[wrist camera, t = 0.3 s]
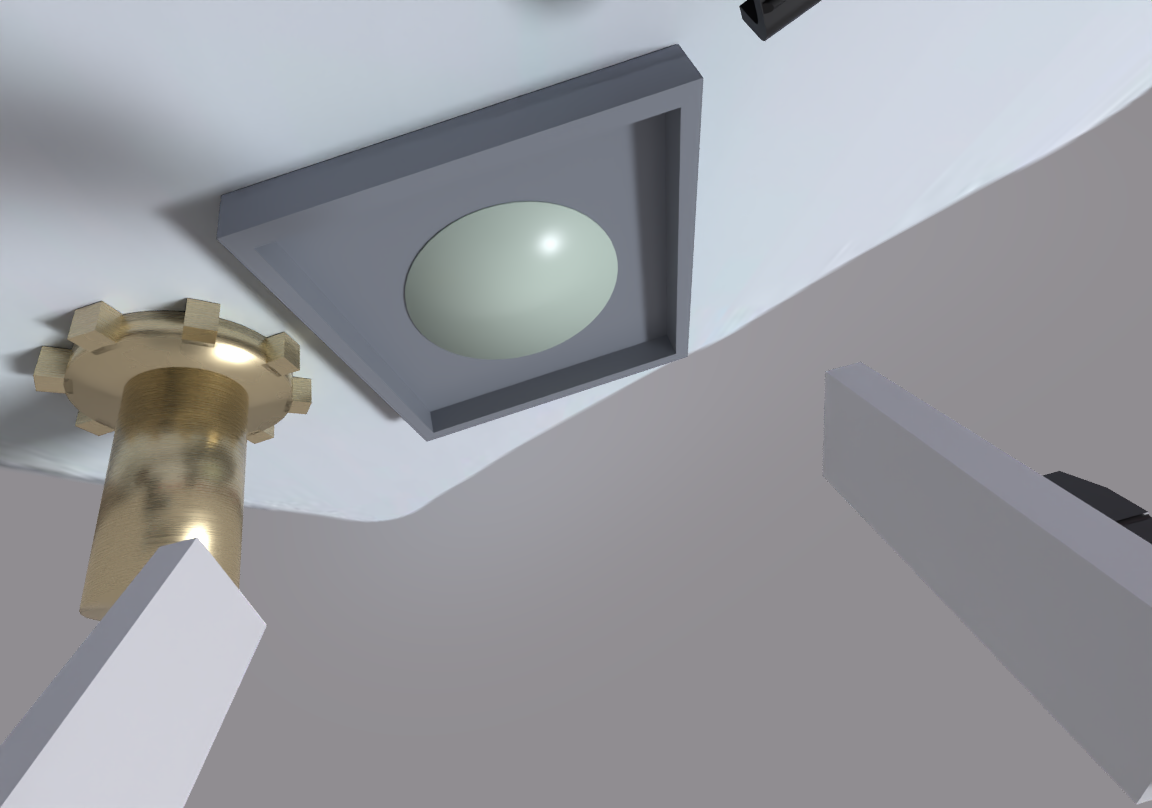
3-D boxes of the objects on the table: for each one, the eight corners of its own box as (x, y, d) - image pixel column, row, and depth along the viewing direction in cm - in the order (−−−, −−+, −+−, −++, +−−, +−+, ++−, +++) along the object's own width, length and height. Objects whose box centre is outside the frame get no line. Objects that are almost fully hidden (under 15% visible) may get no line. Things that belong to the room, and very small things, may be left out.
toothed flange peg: (-32, 345, 22) (-148, 634, 16) (209, 265, 22) (179, 527, 16) (180, 445, 31) (155, 649, 25) (349, 390, 31) (361, 582, 25)
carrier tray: (221, 195, 19) (216, 238, 18) (678, 44, 19) (703, 77, 18) (422, 410, 35) (426, 441, 34) (674, 328, 35) (687, 356, 34)
